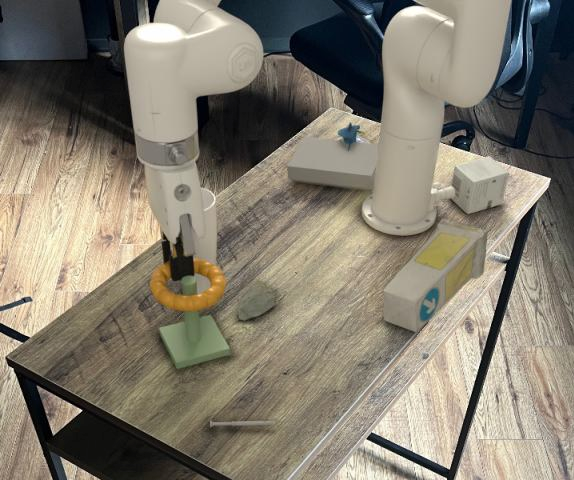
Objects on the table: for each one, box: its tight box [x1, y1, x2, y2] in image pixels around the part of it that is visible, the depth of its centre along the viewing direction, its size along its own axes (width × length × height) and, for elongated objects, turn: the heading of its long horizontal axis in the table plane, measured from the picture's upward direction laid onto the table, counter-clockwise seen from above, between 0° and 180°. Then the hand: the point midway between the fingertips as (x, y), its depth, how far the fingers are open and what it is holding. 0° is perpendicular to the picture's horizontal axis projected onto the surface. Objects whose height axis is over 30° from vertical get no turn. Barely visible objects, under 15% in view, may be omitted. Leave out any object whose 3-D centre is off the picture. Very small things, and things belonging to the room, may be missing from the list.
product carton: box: [450, 155, 510, 215], centre depth 140 cm, size 6×6×7 cm
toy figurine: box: [337, 122, 367, 151], centre depth 145 cm, size 12×4×8 cm, turn 159°
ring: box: [149, 258, 227, 312], centre depth 110 cm, size 10×10×2 cm
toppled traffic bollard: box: [382, 218, 488, 333], centre depth 124 cm, size 19×8×8 cm
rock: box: [236, 280, 276, 322], centre depth 124 cm, size 9×2×5 cm
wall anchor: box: [209, 419, 277, 428], centre depth 108 cm, size 1×9×1 cm, turn 92°
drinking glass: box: [180, 187, 219, 294], centre depth 120 cm, size 7×7×15 cm
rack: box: [158, 276, 231, 370], centre depth 114 cm, size 8×8×11 cm
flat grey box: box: [286, 135, 379, 191], centre depth 143 cm, size 10×4×15 cm
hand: (179, 270), depth 113 cm, fingers closed on ring, 2 cm apart
